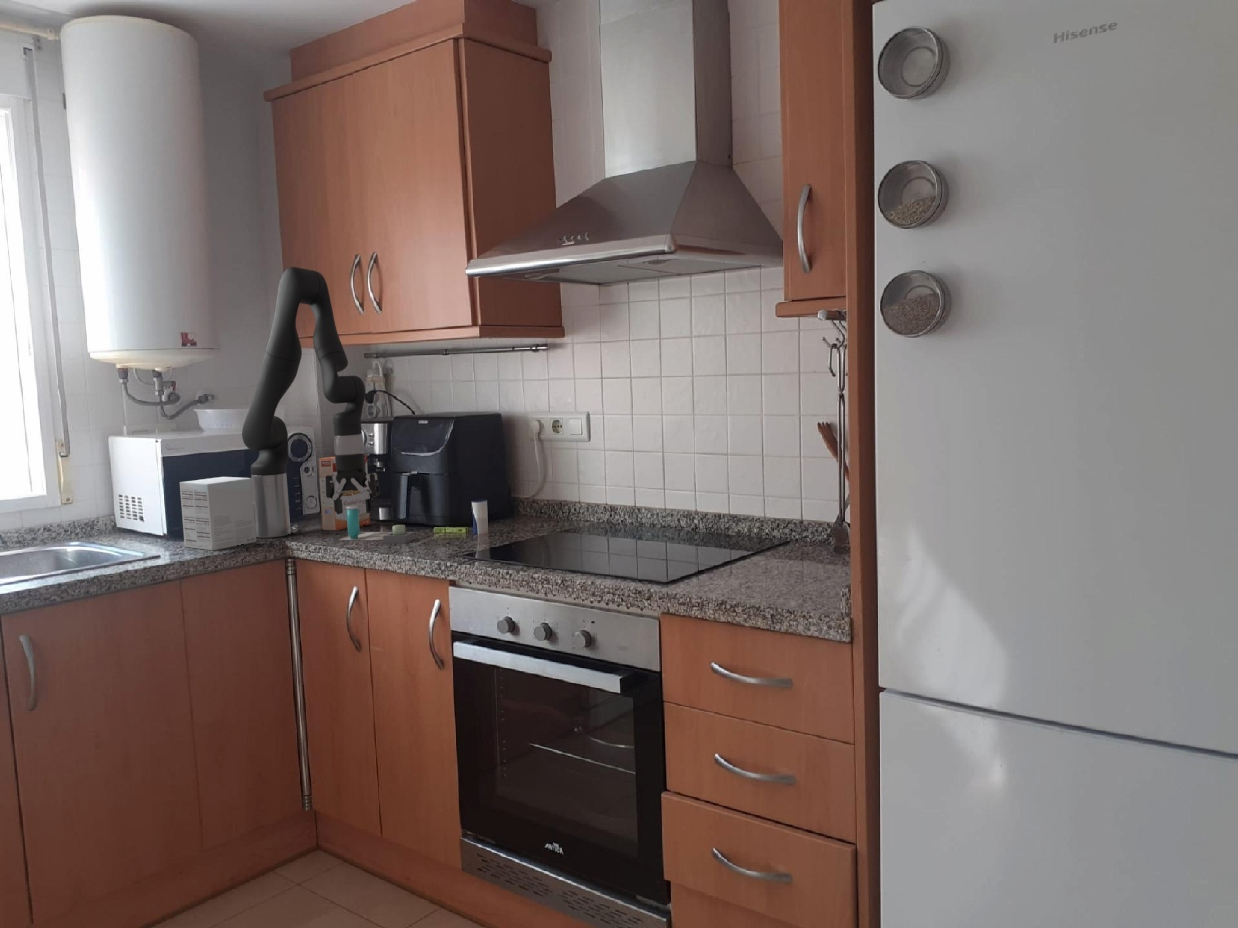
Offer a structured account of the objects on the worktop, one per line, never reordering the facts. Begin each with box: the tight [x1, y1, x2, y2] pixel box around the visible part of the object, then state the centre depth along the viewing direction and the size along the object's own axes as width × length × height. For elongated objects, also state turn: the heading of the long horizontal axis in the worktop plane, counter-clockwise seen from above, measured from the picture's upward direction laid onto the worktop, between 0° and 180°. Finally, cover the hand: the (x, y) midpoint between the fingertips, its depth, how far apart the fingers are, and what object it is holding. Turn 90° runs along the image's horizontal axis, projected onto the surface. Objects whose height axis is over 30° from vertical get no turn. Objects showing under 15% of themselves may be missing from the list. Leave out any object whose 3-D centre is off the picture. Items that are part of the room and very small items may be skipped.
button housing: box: [382, 531, 416, 544], centre depth 253 cm, size 6×6×2 cm
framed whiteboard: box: [337, 531, 392, 541], centre depth 263 cm, size 16×13×1 cm
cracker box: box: [318, 454, 371, 531], centre depth 281 cm, size 14×6×21 cm, turn 152°
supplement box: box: [179, 476, 257, 551], centre depth 261 cm, size 13×13×18 cm
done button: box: [391, 524, 406, 535], centre depth 253 cm, size 3×3×3 cm
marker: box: [346, 505, 361, 539], centre depth 259 cm, size 3×3×9 cm
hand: (354, 513), depth 259 cm, fingers open, 8 cm apart
